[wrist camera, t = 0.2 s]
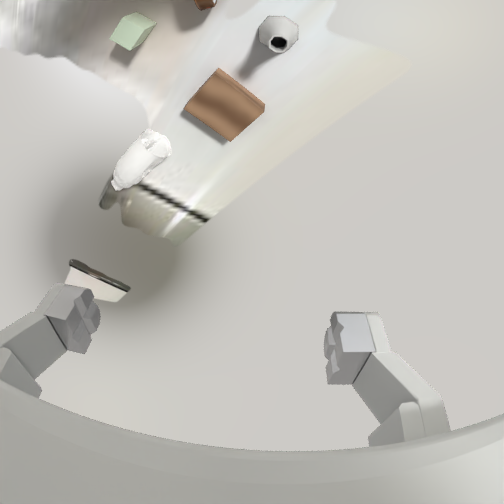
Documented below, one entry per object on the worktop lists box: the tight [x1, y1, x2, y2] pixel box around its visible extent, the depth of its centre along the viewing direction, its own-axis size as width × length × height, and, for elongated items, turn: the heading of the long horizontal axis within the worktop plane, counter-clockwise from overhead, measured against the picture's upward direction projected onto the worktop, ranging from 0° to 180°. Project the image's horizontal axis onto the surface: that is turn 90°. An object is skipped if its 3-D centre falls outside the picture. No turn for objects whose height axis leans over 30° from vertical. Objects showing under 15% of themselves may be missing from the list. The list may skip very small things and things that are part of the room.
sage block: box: [110, 12, 157, 51], centre depth 38 cm, size 5×5×6 cm
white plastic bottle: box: [111, 128, 171, 191], centre depth 64 cm, size 8×19×8 cm, turn 131°
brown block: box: [184, 68, 265, 142], centre depth 53 cm, size 10×12×4 cm
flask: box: [259, 16, 298, 53], centre depth 38 cm, size 7×7×10 cm
